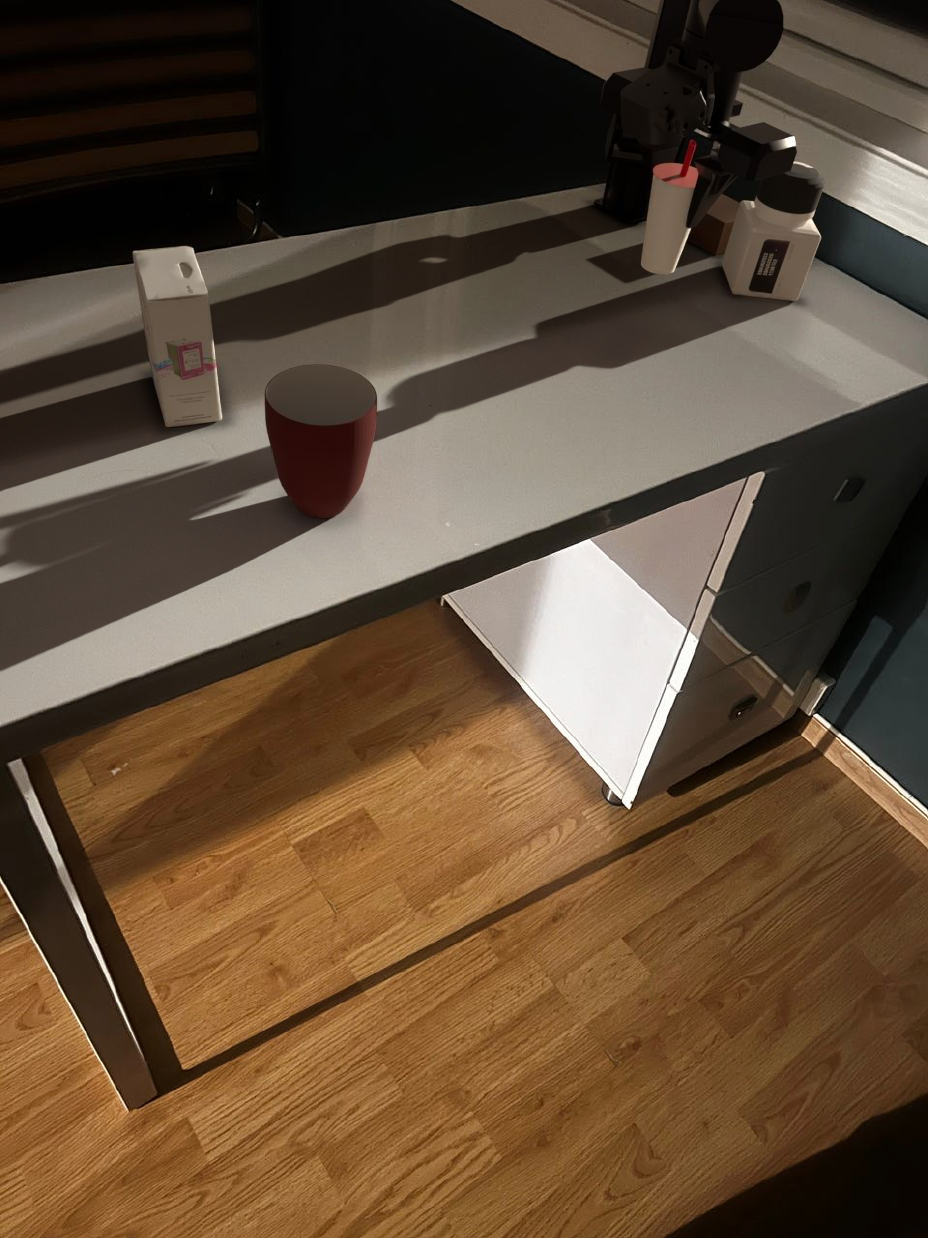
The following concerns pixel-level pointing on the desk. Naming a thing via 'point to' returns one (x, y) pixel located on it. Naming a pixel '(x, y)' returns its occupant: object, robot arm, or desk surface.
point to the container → (775, 236)
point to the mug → (320, 434)
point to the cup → (668, 214)
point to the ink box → (178, 334)
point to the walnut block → (715, 226)
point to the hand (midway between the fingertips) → (670, 216)
